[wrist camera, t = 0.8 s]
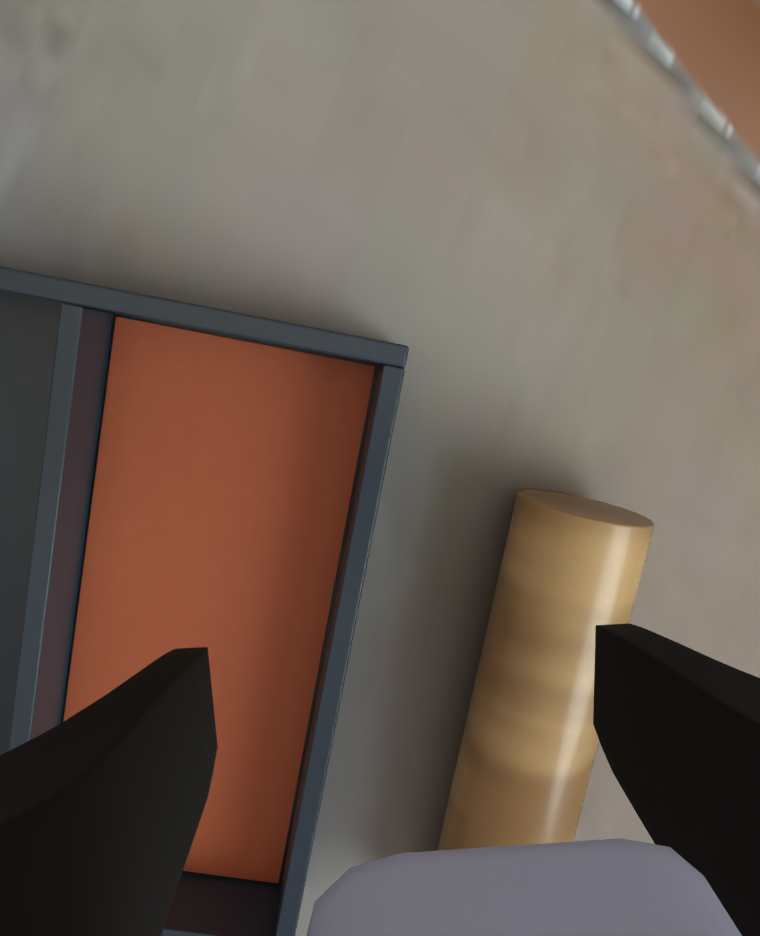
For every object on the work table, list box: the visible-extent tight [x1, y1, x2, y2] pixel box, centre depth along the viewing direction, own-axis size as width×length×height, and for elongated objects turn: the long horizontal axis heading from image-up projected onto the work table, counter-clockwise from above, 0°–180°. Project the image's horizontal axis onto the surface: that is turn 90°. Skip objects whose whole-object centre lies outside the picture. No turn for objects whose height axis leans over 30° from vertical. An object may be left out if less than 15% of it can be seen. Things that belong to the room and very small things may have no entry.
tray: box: [0, 266, 409, 936], centre depth 21 cm, size 19×18×3 cm
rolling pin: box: [437, 490, 654, 851], centre depth 22 cm, size 15×4×4 cm, turn 169°
